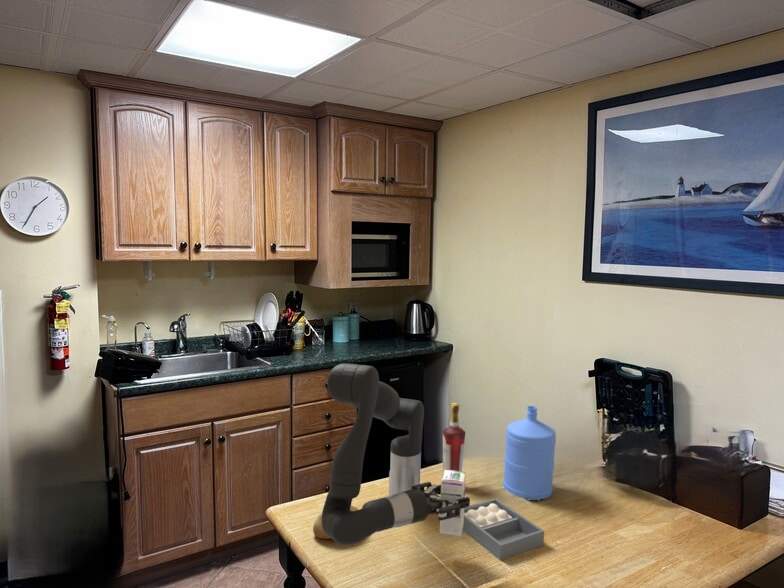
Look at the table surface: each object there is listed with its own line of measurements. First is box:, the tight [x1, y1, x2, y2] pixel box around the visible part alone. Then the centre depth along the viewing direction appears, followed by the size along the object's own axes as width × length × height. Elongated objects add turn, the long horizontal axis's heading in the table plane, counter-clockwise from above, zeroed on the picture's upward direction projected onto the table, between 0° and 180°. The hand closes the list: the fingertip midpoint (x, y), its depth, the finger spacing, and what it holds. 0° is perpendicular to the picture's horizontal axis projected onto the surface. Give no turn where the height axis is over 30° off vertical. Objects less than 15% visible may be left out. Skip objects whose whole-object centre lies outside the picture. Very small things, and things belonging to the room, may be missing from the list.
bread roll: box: [312, 504, 360, 540], centre depth 153 cm, size 10×15×8 cm, turn 109°
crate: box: [463, 497, 545, 561], centre depth 153 cm, size 20×15×5 cm
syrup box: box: [439, 470, 466, 537], centre depth 140 cm, size 6×6×14 cm
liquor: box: [442, 402, 466, 474], centre depth 180 cm, size 7×7×28 cm
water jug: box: [502, 405, 557, 501], centre depth 179 cm, size 16×16×28 cm
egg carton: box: [464, 503, 512, 528], centre depth 157 cm, size 8×12×5 cm
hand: (459, 494), depth 141 cm, fingers closed on syrup box, 8 cm apart
